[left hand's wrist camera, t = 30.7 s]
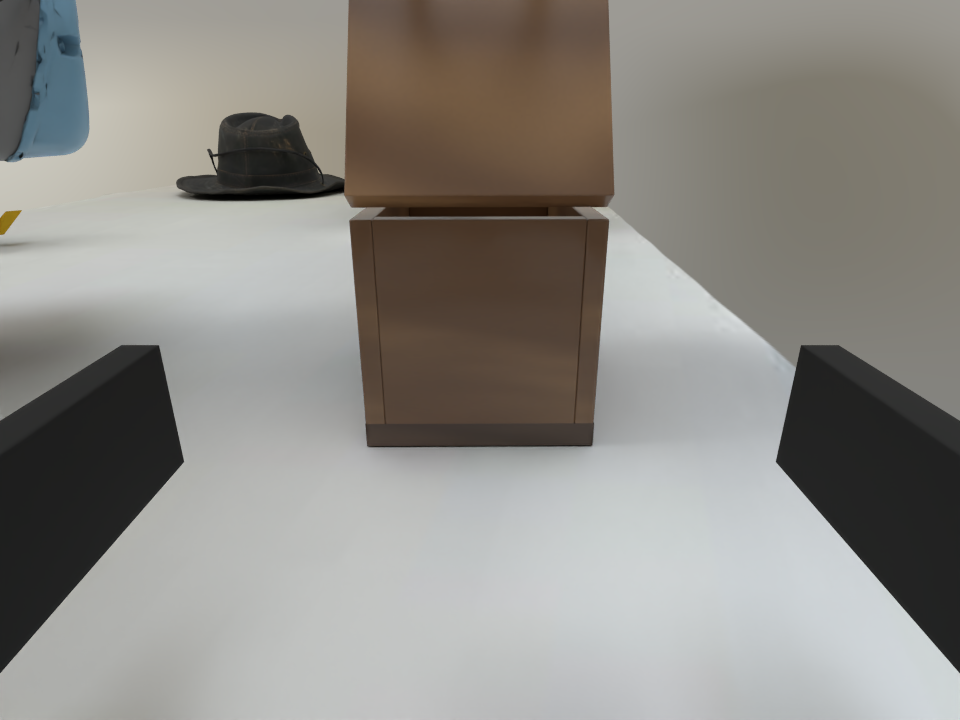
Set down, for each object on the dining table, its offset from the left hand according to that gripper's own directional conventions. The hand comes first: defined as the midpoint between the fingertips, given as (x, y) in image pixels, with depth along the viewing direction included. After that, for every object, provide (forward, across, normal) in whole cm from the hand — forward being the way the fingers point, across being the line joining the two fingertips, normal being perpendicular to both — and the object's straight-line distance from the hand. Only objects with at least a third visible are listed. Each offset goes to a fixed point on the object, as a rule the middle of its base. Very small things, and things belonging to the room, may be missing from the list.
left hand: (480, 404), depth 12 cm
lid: (+14, 0, -9) cm, 16 cm away
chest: (+17, 0, +7) cm, 18 cm away
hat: (+112, +42, +7) cm, 120 cm away
